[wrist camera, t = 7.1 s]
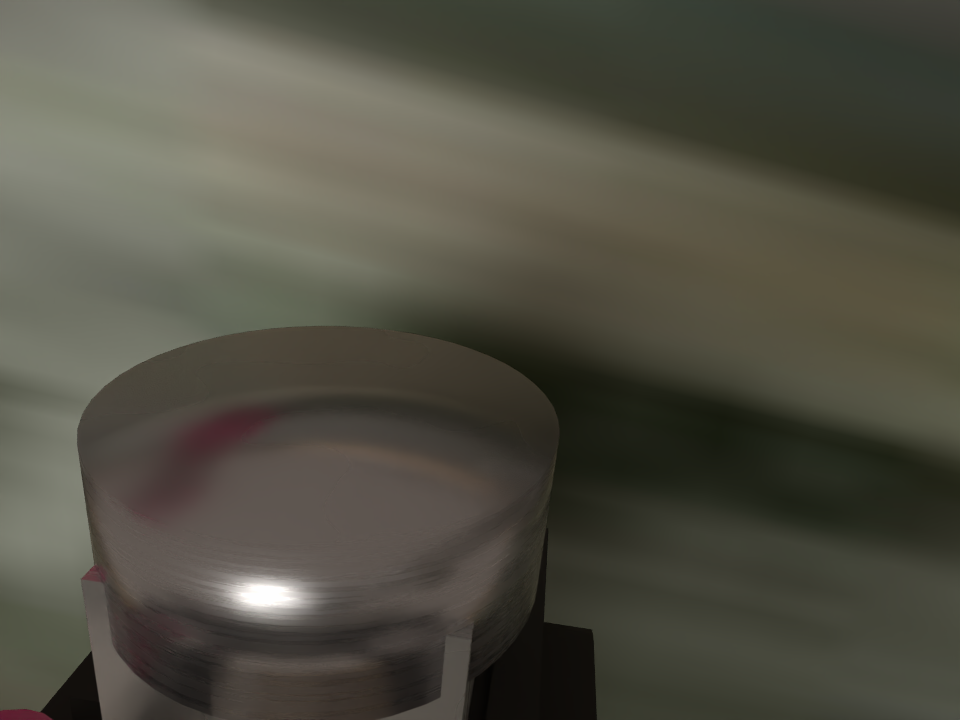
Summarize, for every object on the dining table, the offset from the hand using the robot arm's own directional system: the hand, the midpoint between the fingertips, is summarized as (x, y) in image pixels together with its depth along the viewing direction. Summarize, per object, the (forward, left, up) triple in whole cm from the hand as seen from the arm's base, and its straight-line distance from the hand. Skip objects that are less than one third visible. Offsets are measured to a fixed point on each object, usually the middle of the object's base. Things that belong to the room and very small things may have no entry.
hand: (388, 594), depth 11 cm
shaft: (0, +8, +1) cm, 8 cm away
